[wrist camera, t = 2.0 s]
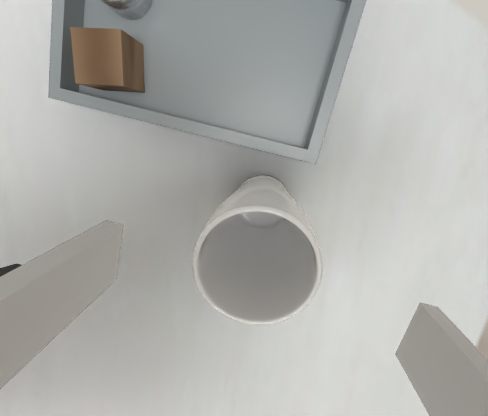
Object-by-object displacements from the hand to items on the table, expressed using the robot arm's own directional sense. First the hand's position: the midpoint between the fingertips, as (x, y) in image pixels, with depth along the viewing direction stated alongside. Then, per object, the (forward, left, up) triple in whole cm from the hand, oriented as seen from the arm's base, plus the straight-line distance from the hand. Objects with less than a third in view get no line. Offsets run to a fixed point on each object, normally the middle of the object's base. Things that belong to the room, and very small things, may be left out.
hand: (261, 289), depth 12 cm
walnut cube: (-16, +9, -16) cm, 24 cm away
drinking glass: (0, 0, -17) cm, 17 cm away
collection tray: (-9, +12, -17) cm, 22 cm away
